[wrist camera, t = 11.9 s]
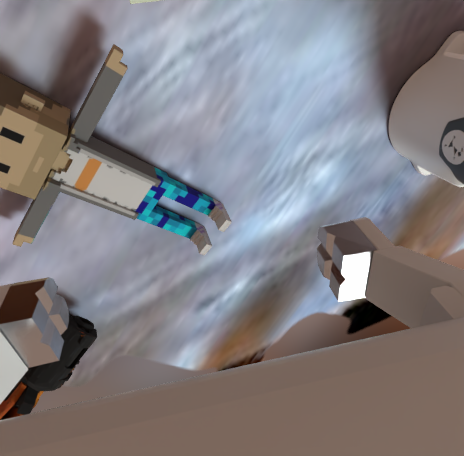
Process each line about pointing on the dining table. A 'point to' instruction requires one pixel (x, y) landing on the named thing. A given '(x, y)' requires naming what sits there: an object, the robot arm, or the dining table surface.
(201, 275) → the dining table surface
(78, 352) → the tool
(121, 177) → the toy
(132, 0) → the lid
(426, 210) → the dining table surface
